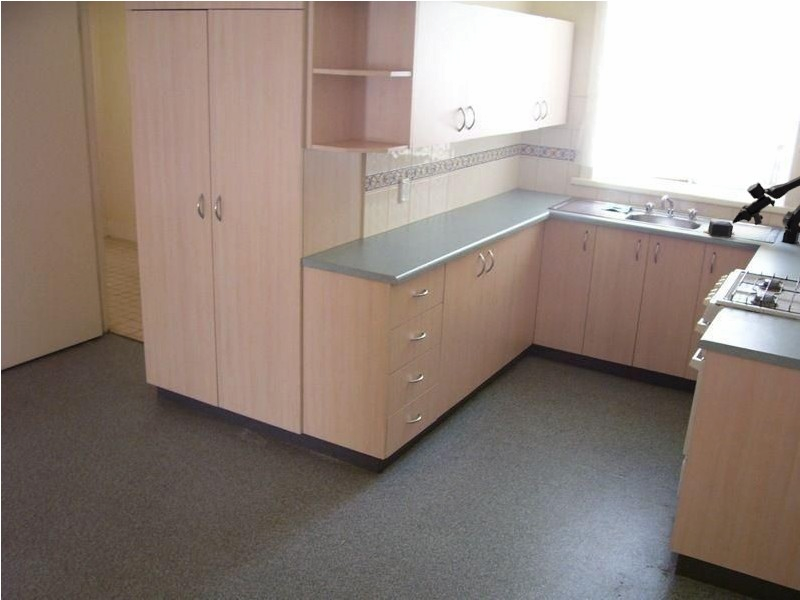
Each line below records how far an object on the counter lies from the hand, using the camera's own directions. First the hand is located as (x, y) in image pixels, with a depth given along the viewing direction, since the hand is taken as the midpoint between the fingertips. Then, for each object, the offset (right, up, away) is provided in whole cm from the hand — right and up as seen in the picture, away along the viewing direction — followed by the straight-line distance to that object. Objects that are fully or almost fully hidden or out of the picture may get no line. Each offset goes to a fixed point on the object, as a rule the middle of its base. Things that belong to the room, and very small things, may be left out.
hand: (732, 222), depth 417 cm
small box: (0, -3, +2) cm, 4 cm away
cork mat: (-3, -5, +10) cm, 11 cm away
